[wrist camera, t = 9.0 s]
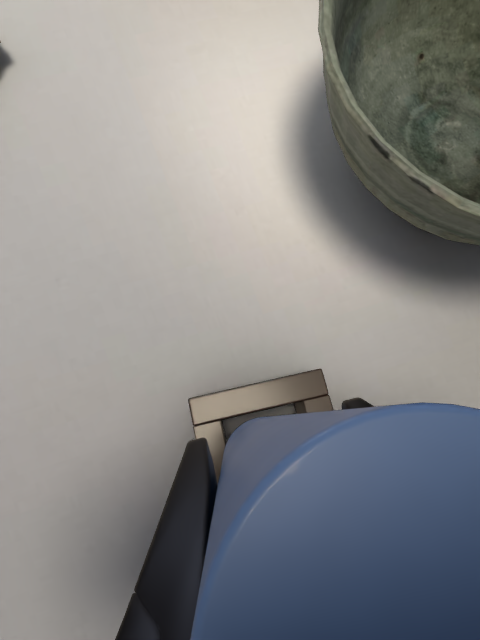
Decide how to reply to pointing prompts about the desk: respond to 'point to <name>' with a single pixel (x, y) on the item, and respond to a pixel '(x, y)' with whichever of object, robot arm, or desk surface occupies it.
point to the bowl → (409, 105)
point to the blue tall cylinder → (346, 528)
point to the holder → (255, 405)
